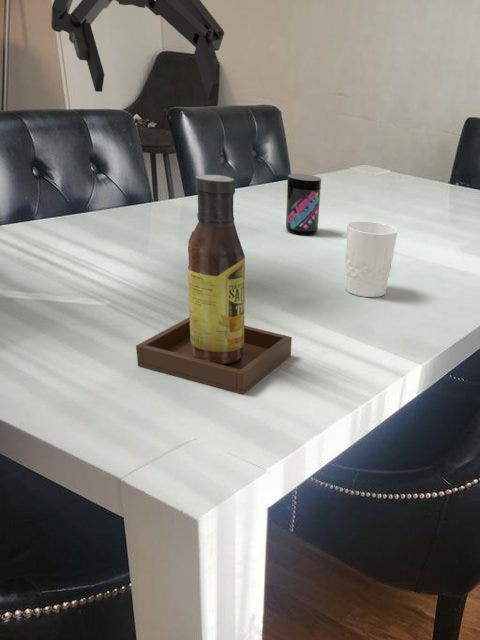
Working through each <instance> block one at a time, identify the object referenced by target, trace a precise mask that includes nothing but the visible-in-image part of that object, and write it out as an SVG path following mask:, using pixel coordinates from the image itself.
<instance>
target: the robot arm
mask: <svg viewBox="0 0 480 640" xmlns="http://www.w3.org/2000/svg"><path fill="white" fill-rule="evenodd" d="M73 1H74V0H53V3H52V6H51V17H50V18H51V20H50V22H51V23H50V27H51V29H52V30H53V31H55V32H57V33H61V32H66V33H68V40H69V42H70V43H71V44H73V47H74V52H75V55H76V57H77V58H78V61H86V63H87V67H88V70H89V74H90V78H91V82H92V85H93V88H94V90H95V92H97V93H98V92H100V93H103V88H104V80H105V72H104V68H103V64H102V61H101V58H100V54H99V51H98V47H97V43H96V39H95V35H94V32H93V28H92V26H91V25H92V24H93V22H94V21H95V20H96V19H97V17H98V16H100V14H101V13H102V11H104V9H107V8H108V7H109V6H110V5H111V3H112V2H113V1H116V2H117V3H118V5H122V6H135V7H137V8H143V9H145V8H147V9H148V10H149V11H151V12H152V13H153V15H155V16H161V18H162V19H164V20H165V21H166V22H167V23H168V24H169V25H170V26H171V27H172V28H174V29H175V30H176V31H177V32H178V33H179V34H180V35H181V36H182V37H184V39H185V40H187V42H188V43H190V44H191V45H192V46H193V47H194V48H195V49H194V53H193V54H194V58H195V62H196V65H197V68H198V72H199V75H200V78H201V82H202V85H203V88H204V89H203V90H204V92H205V95H206V98H207V101H215V97H216V95H217V92H218V90H219V86H220V83H219V79H218V77H217V73H216V72H217V68H218V66H219V60H218V57H217V53H216V52H217V51H219V50H220V48H221V46H222V42H223V39H224V37H225V31H224V29H223V28H222V27H221V25H220V23H219V22H218V21H217V20H216V19H215V18H214V17H213V15H212V14H211V12H209V9H208V8H207V7H206V6H205V5H204V3H202V1H201V0H81V1H80V2H79V3H78V4H77V6H76V7H75V8H74V9H73V11H72V12H71V13H69V12H70V9H71V6H72V3H73Z"/></svg>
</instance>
